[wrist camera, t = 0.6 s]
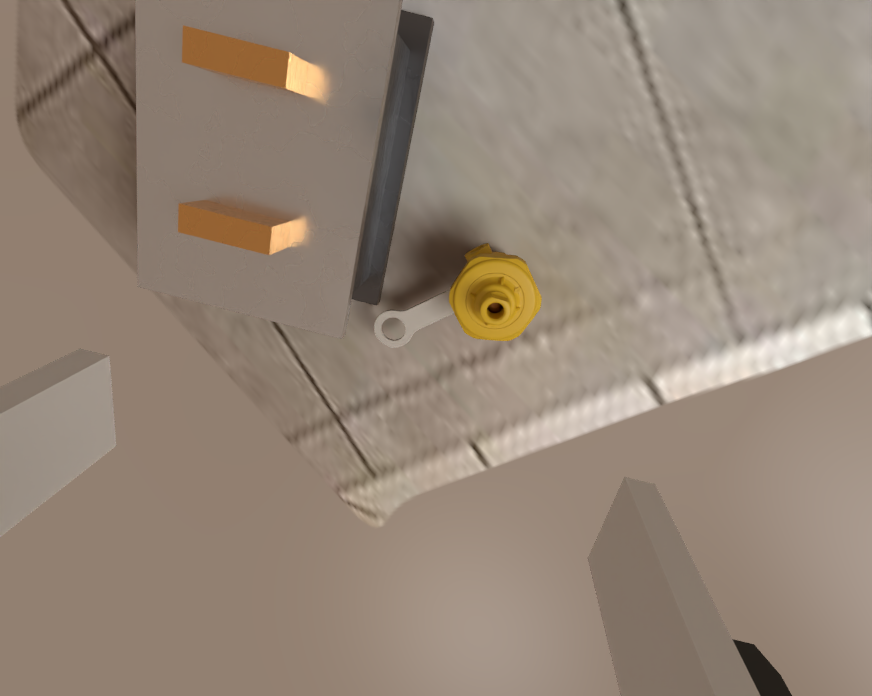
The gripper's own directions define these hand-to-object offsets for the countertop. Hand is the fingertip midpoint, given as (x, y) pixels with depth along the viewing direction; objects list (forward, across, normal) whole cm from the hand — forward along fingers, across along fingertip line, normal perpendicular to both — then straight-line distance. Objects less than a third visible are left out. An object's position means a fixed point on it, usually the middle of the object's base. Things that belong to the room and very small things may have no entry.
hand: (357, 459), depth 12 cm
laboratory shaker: (+26, -11, +5) cm, 28 cm away
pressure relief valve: (+26, +1, -2) cm, 26 cm away
